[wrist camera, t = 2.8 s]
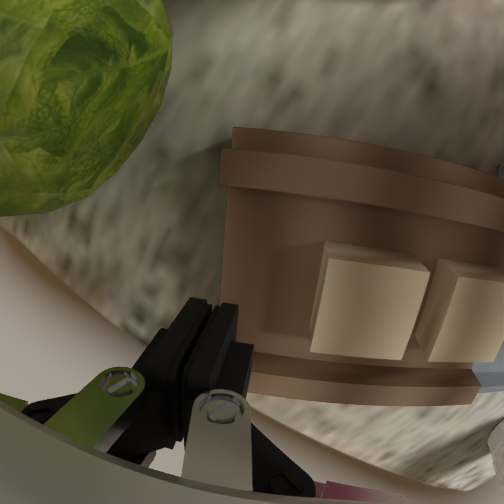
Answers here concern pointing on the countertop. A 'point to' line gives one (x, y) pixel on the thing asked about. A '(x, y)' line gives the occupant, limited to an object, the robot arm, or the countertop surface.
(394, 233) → the brown wooden box
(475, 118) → the countertop surface
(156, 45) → the lettuce
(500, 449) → the white cup
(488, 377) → the tray
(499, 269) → the chip
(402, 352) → the chip
